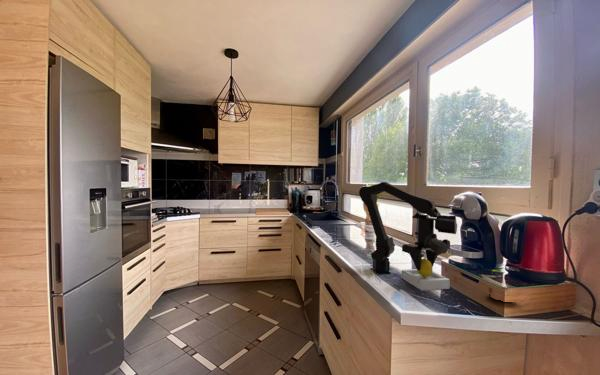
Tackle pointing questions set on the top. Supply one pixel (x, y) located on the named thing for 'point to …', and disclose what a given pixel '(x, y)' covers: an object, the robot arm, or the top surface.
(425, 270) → the lemon
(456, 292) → the top surface
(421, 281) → the white square tray
